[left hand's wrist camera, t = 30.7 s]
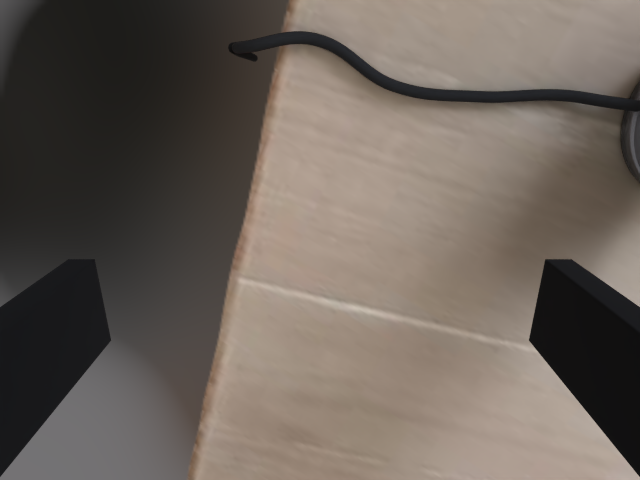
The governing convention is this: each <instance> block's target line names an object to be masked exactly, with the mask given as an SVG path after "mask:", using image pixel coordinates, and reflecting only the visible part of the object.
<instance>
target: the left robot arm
mask: <svg viewBox="0 0 640 480" xmlns="http://www.w3.org/2000/svg"><path fill="white" fill-rule="evenodd" d="M289 44H308V45H314V46H318V47H321V48H324V49H326V50H329V51H331V52H332V53H334V54H336V55H338V56H339V57H341V58H342V59H343V60H345V61H346V62H347V63H349V64H350V65H351V66H352V67H354V68H355V69H356V70H357V71H359V72H360V73H361V74H362V75H364V76H365V77H366V78H368V79H369V80H371V81H372V82H374V83H375V84H377V85H379V86H381V87H383V88H385V89H387V90H390V91H392V92H396V93H399V94H402V95H406V96H410V97H415V98H420V99H427V100H437V101H458V102H482V103H501V102H520V101H542V100H549V101H568V102H576V103H582V104H588V105H593V106H600V107H606V108H613V109H620V110H625V113H624V117H623V122H622V128H621V146H622V152H623V156H624V159H625V162H626V164H627V166H628V168H629V170H630V171H631V173H632V174H633V176H634V177H635V178H636V179H637V180H638V181H639V182H640V81H639V83H638V84H637V86H636V88H635V90H634V91H633V93H632V95H631V97H630V99H626V98H619V97H612V96H605V95H599V94H593V93H587V92H581V91H573V90H558V89H540V90H520V91H500V92H487V91H463V90H442V89H431V88H424V87H418V86H414V85H409V84H406V83H402V82H399V81H396V80H394V79H391V78H389V77H387V76H385V75H383V74H381V73H380V72H378V71H377V70H375V69H374V68H373V67H371V66H370V65H369V64H367V63H366V62H365V61H364V60H363V59H361V58H360V57H359V56H358V55H356V54H355V53H354V52H353V51H351V50H350V49H349V48H347V47H346V46H344V45H343V44H341V43H339V42H337V41H336V40H334V39H332V38H329V37H327V36H324V35H320V34H317V33H312V32H303V31H294V32H285V33H279V34H274V35H269V36H266V37H261V38H257V39H253V40H248V41H241V42H232V43H230V44H229V46H228V49H229V52H231V53H232V54H234V55H236V56H238V57H241V58H244V59H247V60H250V61H253V62H256V61H257V60H258V57H257V55H255V54H253V53H251V52H256V51H261V50H265V49H269V48H273V47H278V46H283V45H289ZM110 341H111V338H110V333H109V328H108V323H107V318H106V313H105V308H104V303H103V298H102V293H101V288H100V283H99V279H98V274H97V269H96V264H95V260H94V259H68V260H67V261H66V262H64V263H63V264H61V265H60V266H58V267H57V268H55V269H54V270H53V271H51V272H50V273H48V274H47V275H45V276H44V277H43V278H41V279H40V280H38V281H37V282H36V283H34V284H33V285H31V286H30V287H28V288H27V289H26V290H24V291H23V292H21V293H20V294H18V295H17V296H16V297H14V298H13V299H11V300H10V301H8V302H7V303H6V304H4V305H3V306H1V307H0V476H1V475H2V474H3V473H4V471H5V470H6V469H7V468H8V467H9V465H10V464H11V463H12V462H13V460H14V459H15V458H16V457H17V456H18V454H19V453H20V452H21V451H22V449H23V448H24V447H25V446H26V444H27V443H28V442H29V441H30V440H31V438H32V437H33V436H34V435H35V433H36V432H37V431H38V430H39V428H40V427H41V426H42V425H43V423H44V422H45V421H46V420H47V418H48V417H49V416H50V415H51V414H52V412H53V411H54V410H55V409H56V407H57V406H58V405H59V404H60V403H61V401H62V400H63V399H64V398H65V396H66V395H67V394H68V393H69V391H70V390H71V389H72V388H73V387H74V385H75V384H76V383H77V382H78V380H79V379H80V378H81V377H82V375H83V374H84V373H85V372H86V370H87V369H88V368H89V367H90V366H91V364H92V363H93V362H94V361H95V359H96V358H97V357H98V356H99V354H100V353H101V352H102V351H103V350H104V348H105V347H106V346H107V345H108V343H109V342H110ZM529 341H530V342H531V343H532V345H533V346H534V347H535V348H536V350H537V351H538V352H539V353H540V354H541V356H542V357H543V358H544V359H545V361H546V362H547V363H548V364H549V366H550V367H551V368H552V369H553V371H554V372H555V373H556V374H557V375H558V377H559V378H560V379H561V380H562V382H563V383H564V384H565V385H566V387H567V388H568V389H569V390H570V391H571V393H572V394H573V395H574V396H575V398H576V399H577V400H578V401H579V403H580V404H581V405H582V406H583V407H584V409H585V410H586V411H587V412H588V414H589V415H590V416H591V417H592V419H593V420H594V421H595V422H596V423H597V425H598V426H599V427H600V428H601V430H602V431H603V432H604V433H605V435H606V436H607V437H608V438H609V440H610V441H611V442H612V443H613V444H614V446H615V447H616V448H617V449H618V451H619V452H620V453H621V454H622V456H623V457H624V458H625V459H626V460H627V462H628V463H629V464H630V465H631V467H632V468H633V469H634V470H635V472H636V473H637V474H638V475H639V476H640V307H639V306H637V305H636V304H634V303H633V302H632V301H630V300H629V299H627V298H626V297H624V296H623V295H622V294H620V293H619V292H617V291H616V290H614V289H613V288H612V287H610V286H609V285H607V284H606V283H605V282H603V281H602V280H600V279H599V278H597V277H596V276H595V275H593V274H592V273H590V272H589V271H587V270H586V269H585V268H583V267H582V266H580V265H579V264H577V263H576V262H575V261H573V260H572V259H545V264H544V269H543V273H542V278H541V283H540V288H539V293H538V298H537V303H536V308H535V313H534V318H533V323H532V328H531V333H530V338H529Z"/></svg>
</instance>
